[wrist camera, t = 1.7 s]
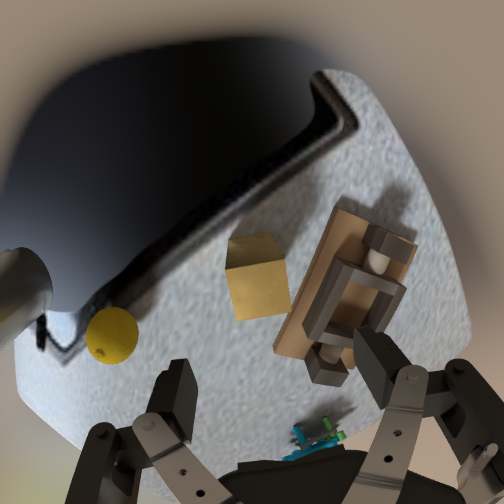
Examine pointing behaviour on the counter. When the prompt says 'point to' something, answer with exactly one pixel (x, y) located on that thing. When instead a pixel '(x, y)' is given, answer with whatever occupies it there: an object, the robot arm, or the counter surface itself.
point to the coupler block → (257, 277)
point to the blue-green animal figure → (320, 443)
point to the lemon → (112, 335)
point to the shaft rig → (344, 295)
